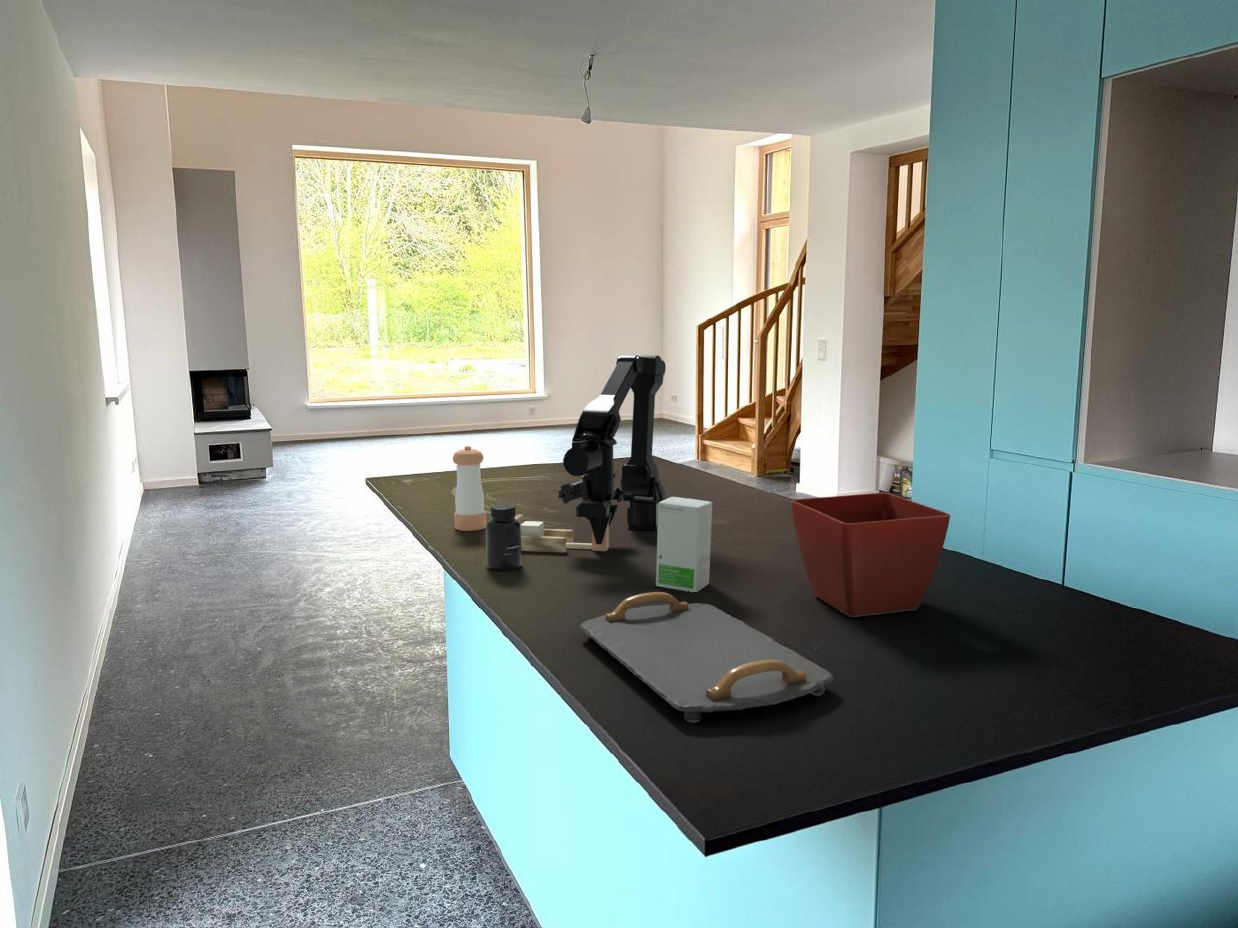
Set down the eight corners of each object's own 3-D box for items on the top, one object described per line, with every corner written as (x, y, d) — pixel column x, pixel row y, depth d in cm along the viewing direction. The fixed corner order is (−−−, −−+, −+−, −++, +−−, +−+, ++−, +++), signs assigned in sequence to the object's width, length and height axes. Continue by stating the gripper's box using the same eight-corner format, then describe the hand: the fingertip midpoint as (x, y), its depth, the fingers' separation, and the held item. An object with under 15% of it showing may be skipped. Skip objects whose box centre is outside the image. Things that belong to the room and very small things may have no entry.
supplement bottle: (515, 572, 169) (513, 510, 167) (481, 570, 170) (479, 509, 168) (526, 562, 175) (524, 503, 174) (493, 561, 177) (491, 502, 175)
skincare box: (655, 587, 159) (654, 502, 156) (670, 577, 164) (670, 495, 162) (698, 593, 155) (698, 506, 152) (712, 583, 161) (713, 499, 158)
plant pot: (841, 628, 137) (845, 522, 134) (786, 592, 155) (788, 498, 152) (948, 616, 142) (953, 514, 139) (882, 583, 160) (886, 492, 157)
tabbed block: (609, 546, 187) (609, 523, 186) (605, 551, 183) (605, 528, 183) (526, 543, 190) (525, 521, 190) (520, 548, 187) (520, 525, 186)
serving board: (569, 635, 136) (568, 596, 135) (700, 614, 145) (701, 577, 144) (690, 742, 101) (690, 690, 100) (852, 705, 111) (854, 658, 110)
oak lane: (573, 543, 191) (572, 516, 190) (564, 552, 183) (564, 524, 182) (518, 541, 193) (518, 514, 192) (508, 550, 185) (507, 522, 184)
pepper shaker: (469, 532, 201) (466, 449, 198) (448, 528, 205) (444, 446, 202) (492, 526, 207) (490, 445, 204) (471, 522, 211) (468, 443, 208)
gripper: (572, 460, 193) (573, 530, 196) (550, 475, 175) (552, 551, 178) (622, 461, 191) (622, 532, 194) (605, 476, 173) (606, 554, 176)
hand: (600, 541), depth 185 cm, fingers closed on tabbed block, 3 cm apart
